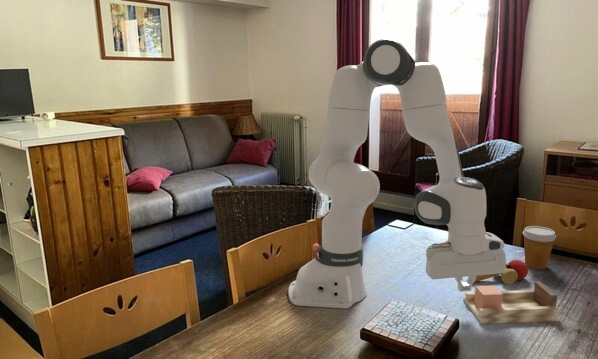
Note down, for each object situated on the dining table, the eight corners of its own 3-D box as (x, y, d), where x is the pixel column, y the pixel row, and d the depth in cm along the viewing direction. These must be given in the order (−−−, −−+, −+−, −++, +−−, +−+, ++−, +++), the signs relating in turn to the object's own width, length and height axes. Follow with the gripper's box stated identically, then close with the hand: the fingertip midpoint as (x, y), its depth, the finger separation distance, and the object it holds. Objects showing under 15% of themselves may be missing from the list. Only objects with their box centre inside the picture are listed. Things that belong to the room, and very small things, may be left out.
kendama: (479, 293, 134) (535, 280, 135) (475, 272, 133) (532, 259, 135) (466, 285, 141) (520, 273, 143) (463, 266, 141) (517, 254, 143)
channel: (481, 323, 115) (483, 302, 114) (463, 300, 127) (464, 280, 125) (559, 320, 116) (562, 299, 114) (534, 298, 127) (536, 278, 126)
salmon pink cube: (482, 312, 118) (483, 294, 117) (474, 303, 123) (475, 286, 122) (501, 311, 118) (502, 294, 117) (492, 302, 123) (493, 285, 122)
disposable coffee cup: (558, 266, 147) (562, 231, 144) (542, 274, 142) (546, 238, 139) (529, 257, 154) (533, 223, 152) (513, 264, 149) (516, 229, 147)
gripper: (431, 249, 113) (430, 299, 116) (510, 242, 114) (507, 292, 118) (422, 239, 119) (421, 288, 123) (498, 233, 121) (495, 281, 124)
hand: (464, 290), depth 120 cm, fingers closed
